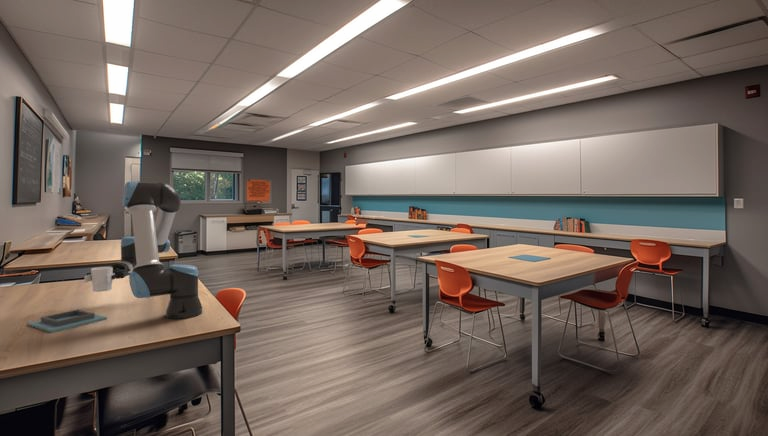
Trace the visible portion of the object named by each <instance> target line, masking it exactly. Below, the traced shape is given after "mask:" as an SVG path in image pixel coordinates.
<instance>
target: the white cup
mask: <svg viewBox="0 0 768 436" xmlns="http://www.w3.org/2000/svg"><path fill="white" fill-rule="evenodd" d="M90 273H91V276H92V281H91V284H92V291H93V292H96V293H98V292H107V291H108V292H109V291H111V290H112V288H113V286H112V285H113V280H111V281H109V282H106V276H107V275H109V274H112V273H113V267H111V266H99V267H92V268H91V269H90Z"/></svg>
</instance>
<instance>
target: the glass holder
mask: <svg viewBox="0 0 768 436" xmlns="http://www.w3.org/2000/svg"><path fill="white" fill-rule="evenodd" d="M106 320H108V317H107V316H104V315H100V314H96V313H94V312H89V311H87V310H82V309H81V310H80V309H75V310H74V309H73V310H70V311H64V312H59V313H55V314H49V315H46V316H41V317H40V320H34V321H31V322H27V323H26V326H28V325H29V326H28V327H31V326H32V327H31V328H34V327H35V329H37V328H38V329H37V330H41V331H45V332H48V333H51V334H52V333H56V332H61V331H64V330H68V329H73V328H76V327H77V328H78V327H81V326H84V325H89V324H93V323H97V322H101V321H106Z"/></svg>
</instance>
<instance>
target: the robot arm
mask: <svg viewBox="0 0 768 436" xmlns="http://www.w3.org/2000/svg"><path fill="white" fill-rule="evenodd" d="M181 203H182V202H181V196H180V194H179V192H178V190H177V189H176V188H175V187H174V186H172V185H171V184H169V183H166V182H150V181H138V180H137V181H128V182H126V183H125V184H124V187H123V191H122V197H121V204H122V207H123V208H127V213H129V214H131V219H132V231H133V236H123V237H122V238H121V239H120V240H121V241H120V255H121V256H120V261H119V262H117V263H113V264H112V265H111V266H110V267H113V273H112V274H109V275H107V276H106V282H109V281H111V280H112V281H113V280H115V279H116V280H117V279H123V278H125V277H127V276H128V279H129V280H128V281H129V286H130V290H131V292H132V295H133V296H134V297H135V298H137V299H149V298H151V297H152V298H153V297H158V296H165V295H167V296H168V295H169V300H168V301H169V302H168V304H167V308H166V310H165V317H166V318H167V319H171V320H172V319H174V320H175V319H176V320H177V319H180V320H181V319H187V318H188V317H189V318H193V317H192V316H194V317H196V315H197V316H199V315H198V314H200V313H201V314H202V313H203V306H202V303H201V301H200V297H199V270H198V269H199V268H198V267H197V266H195V265H191V264H171V265H169V266H168V267H169V268H165V265H164V264H163V263H162V262H160V256H159V254H162V253H167V252H169V251H170V250H171V241H170V240H169V235H170V232H171V228H172V225H173V222H174V220H175V216H176V213H177V212H178V211H179V210H180V208H181V205H182V204H181ZM157 210H158V211H157ZM156 211H157V215H156V219H155V212H156ZM88 282H92V276H91V272H87V273H86V275H85V276H84V283H88ZM201 314H200V315H201Z"/></svg>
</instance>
